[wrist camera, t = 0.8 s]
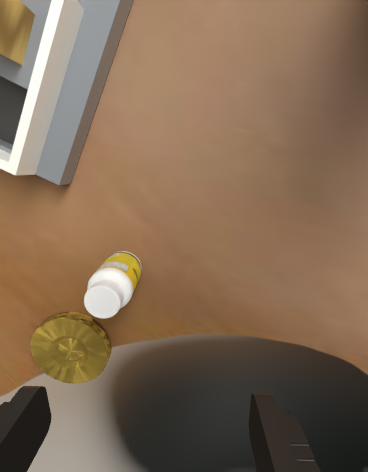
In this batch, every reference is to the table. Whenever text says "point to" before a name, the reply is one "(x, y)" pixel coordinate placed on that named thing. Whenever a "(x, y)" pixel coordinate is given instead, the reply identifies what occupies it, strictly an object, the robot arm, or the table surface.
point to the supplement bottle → (112, 284)
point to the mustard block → (15, 29)
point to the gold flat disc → (71, 348)
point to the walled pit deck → (57, 85)
